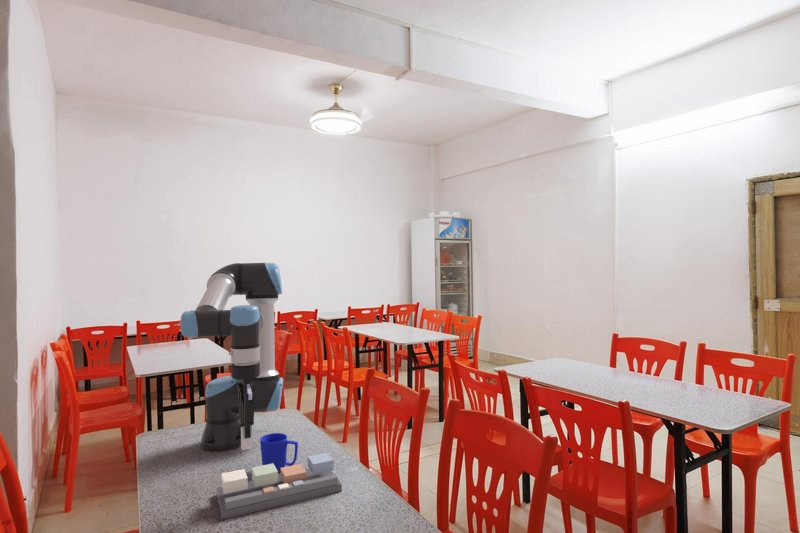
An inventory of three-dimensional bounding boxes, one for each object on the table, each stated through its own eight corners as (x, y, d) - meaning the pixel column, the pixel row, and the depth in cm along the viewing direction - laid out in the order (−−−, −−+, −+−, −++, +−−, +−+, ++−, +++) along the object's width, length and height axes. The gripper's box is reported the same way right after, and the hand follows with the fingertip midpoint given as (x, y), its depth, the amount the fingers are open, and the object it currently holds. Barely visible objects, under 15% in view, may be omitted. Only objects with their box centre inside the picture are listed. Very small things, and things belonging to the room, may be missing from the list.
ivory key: (221, 484, 130) (221, 473, 130) (244, 479, 133) (244, 468, 133) (224, 494, 125) (223, 482, 125) (247, 488, 127) (247, 477, 127)
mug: (292, 477, 144) (291, 444, 143) (255, 474, 146) (255, 441, 146) (303, 465, 152) (302, 434, 152) (268, 462, 154) (267, 432, 154)
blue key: (307, 466, 141) (307, 456, 141) (327, 462, 143) (327, 452, 143) (313, 474, 135) (313, 464, 135) (333, 470, 138) (333, 460, 138)
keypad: (216, 495, 133) (216, 479, 133) (326, 471, 147) (326, 457, 147) (221, 519, 121) (221, 502, 121) (341, 490, 135) (341, 475, 135)
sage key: (251, 478, 134) (251, 467, 134) (273, 473, 136) (273, 463, 136) (255, 487, 128) (255, 476, 128) (277, 482, 131) (277, 471, 131)
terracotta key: (280, 478, 137) (280, 467, 137) (301, 473, 140) (301, 463, 140) (285, 487, 132) (285, 476, 132) (306, 482, 134) (306, 471, 134)
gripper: (227, 359, 133) (228, 442, 134) (235, 368, 122) (236, 460, 123) (254, 356, 137) (255, 437, 138) (264, 365, 126) (266, 454, 126)
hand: (246, 448), depth 130 cm, fingers closed
